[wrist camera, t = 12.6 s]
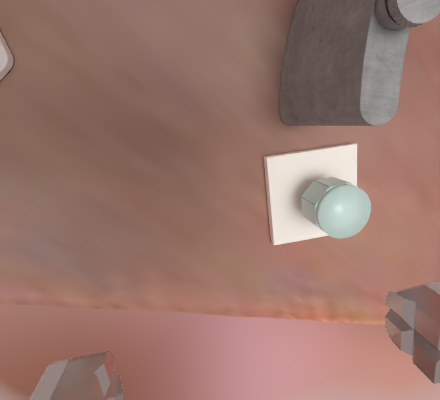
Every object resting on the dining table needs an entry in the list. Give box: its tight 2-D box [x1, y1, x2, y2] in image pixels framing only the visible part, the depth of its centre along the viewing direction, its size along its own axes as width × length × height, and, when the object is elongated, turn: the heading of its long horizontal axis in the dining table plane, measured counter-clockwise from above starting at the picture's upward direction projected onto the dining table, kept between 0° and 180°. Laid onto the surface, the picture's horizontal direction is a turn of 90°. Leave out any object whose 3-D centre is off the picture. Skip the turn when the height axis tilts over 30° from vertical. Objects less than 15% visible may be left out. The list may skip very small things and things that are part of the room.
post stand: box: [263, 143, 357, 245], centre depth 37 cm, size 13×13×8 cm
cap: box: [301, 177, 371, 238], centre depth 34 cm, size 6×6×5 cm
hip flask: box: [280, 0, 440, 126], centre depth 26 cm, size 16×4×20 cm, turn 173°
